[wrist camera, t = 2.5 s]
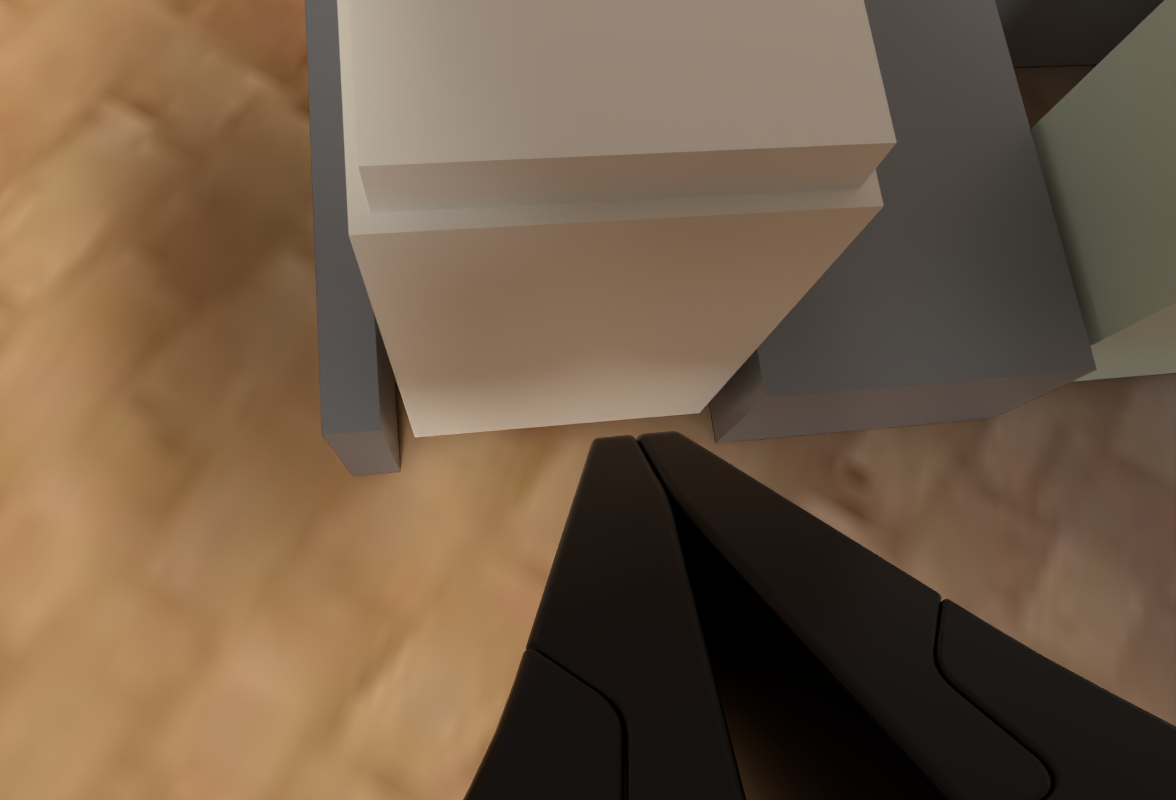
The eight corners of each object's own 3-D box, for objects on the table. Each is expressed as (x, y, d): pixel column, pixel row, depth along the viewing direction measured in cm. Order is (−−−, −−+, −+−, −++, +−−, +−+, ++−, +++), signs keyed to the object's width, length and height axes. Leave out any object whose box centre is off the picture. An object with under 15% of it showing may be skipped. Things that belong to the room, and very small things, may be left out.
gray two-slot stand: (1290, 390, 18) (1447, 340, 15) (352, 476, 15) (322, 434, 12) (1168, 22, 20) (1282, -83, 17) (332, 44, 17) (302, -75, 15)
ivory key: (699, 413, 16) (923, 162, 8) (415, 437, 15) (333, 189, 7) (668, 209, 17) (837, -199, 9) (400, 224, 16) (315, -206, 8)
